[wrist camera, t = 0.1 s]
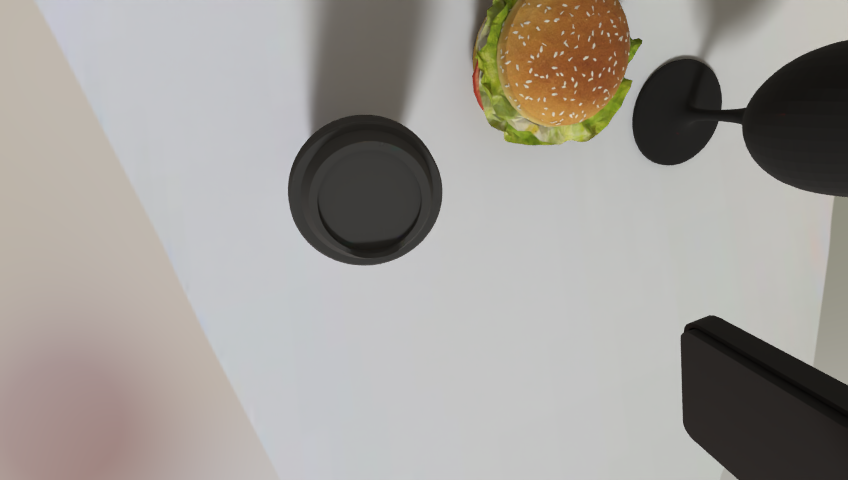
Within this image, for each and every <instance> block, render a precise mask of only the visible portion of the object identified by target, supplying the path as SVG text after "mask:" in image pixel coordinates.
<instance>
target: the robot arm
mask: <svg viewBox="0 0 848 480" xmlns="http://www.w3.org/2000/svg"><path fill="white" fill-rule="evenodd" d="M681 367H682V403H683V424H684V427H685V429H686V431H687V433H688V434H689V435H690V437H691V438H692V439H693V440H694V441H695V442H696V443H698V444H699V445H700V446H701V447H702V448H703V449H704V450H706V451H707V452H708V453H709V454H710V455H711V456H712V457H713V458H715V459H716V460H717V461H718V462H719V463H720V464H721V465H722V466H724V467H725V468H726V469H727V470H728V471H729V472H730V473H732V474H733V475H734V476H735V477H736V478H737V479H739V480H848V385H846V384H844V383H842V382H840V381H838V380H837V379H834V378H833V377H831V376H829V375H827V374H825V373H823V372H821V371H819V370H817V369H816V368H814V367H812V366H810V365H808V364H806V363H804V362H802V361H801V360H799V359H797V358H795V357H793V356H791V355H789V354H787V353H785V352H784V351H782V350H780V349H778V348H776V347H774V346H772V345H770V344H768V343H766V342H765V341H763V340H761V339H759V338H757V337H755V336H753V335H751V334H749V333H748V332H746V331H744V330H742V329H740V328H738V327H736V326H734V325H732V324H730V323H729V322H727V321H725V320H723V319H721V318H719V317H716V316H711V315H709V316H707V317H704V318H702V319H699V320H697V321H694V322H691V323H689V324H687V325H686V326H685V328H684V333H683V334H682V335H681Z"/></svg>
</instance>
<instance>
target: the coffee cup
mask: <svg viewBox="0 0 848 480" xmlns="http://www.w3.org/2000/svg"><path fill="white" fill-rule="evenodd" d="M288 197H289V204H290V210H291V214H292V217H293V219H294V222H295V224H296V226H297V228H298V230H299V231H300V233H301V234H302V236H303V237H304V238H305V239H306V240H307V241H308V243H309V244H311V245H312V246H313V247H314V248H315V249H316V250H318V251H319V252H321V253H322V254H324V255H326V256H327V257H329V258H332V259H334V260H337V261H339V262H343V263H347V264H352V265H376V264H381V263H385V262H389V261H392V260H394V259H397V258H399V257H401V256H403V255H405V254H407V253H408V252H410V251H411V250H412V249H414V248H415V247H416V246H417V245H419V244H420V243H421V242H422V241H423V240H424V238H425V237H426V236H427V235H428V233H429V232H430V231H431V229H432V227H433V226H434V224H435V222H436V220H437V217H438V214H439V211H440V207H441V202H442V182H441V177H440V173H439V170H438V167H437V165H436V163H435V161H434V159H433V157H432V155H431V153H430V152H429V150H428V148H427V147H426V146H425V144H424V143H423V142H422V141H421V139H420V138H419V137H418V136H417V135H416V134H414V133H413V132H412V131H411V130H409V129H408V128H407V127H405V126H403V125H402V124H400V123H398V122H396V121H393V120H391V119H388V118H384V117H380V116H374V115H355V116H349V117H345V118H341V119H338V120H336V121H333V122H331V123H329V124H327V125H325V126H324V127H322V128H321V129H319V130H318V131H317V132H315V133H314V134H313V135H312V136H311V137H310V138H309V139H308V140H307V141H306V142H305V144H304V145H303V146H302V148H301V149H300V151H299V152H298V154H297V156H296V158H295V160H294V163H293V165H292V168H291V172H290V176H289V183H288Z"/></svg>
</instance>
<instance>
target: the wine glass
mask: <svg viewBox="0 0 848 480" xmlns="http://www.w3.org/2000/svg"><path fill="white" fill-rule="evenodd" d="M721 106H722V95H721V89H720V85H719V82H718V80H717V78H716V76H715V74H714V73H713V71H712V70H711V69H710V68H709V67H707V66H706V65H705V64H703V63H701V62H699V61H696V60H692V59H682V60H677V61H673V62H671V63H668V64H666V65H665V66H663V67H661V68H660V69H659V70H657V71H656V72H655V73H654V74H653V75H652V76H651V77H650V78H649V79H648V81H647V82H646V84H645V85H644V87H643V88H642V90H641V92H640V94H639V96H638V99H637V101H636V105H635V108H634V113H633V133H634V138H635V141H636V144H637V146H638V148H639V150H640V151H641V152H642V154H643V155H644V156H645V157H646V158H647V159H649V160H651V161H652V162H654V163H657V164H662V165H676V164H680V163H683V162H685V161H687V160H689V159H691V158H692V157H694V156H695V155H696V154H697V153H699V152H700V151H701V150H702V149H703V148H704V147H705V145H706V144H707V143H708V141H709V140H710V138H711V137H712V135H713V133H714V131H715V129H716V127H717V124H718V121H725V122H733V123H738V124H742V131H743V137H744V141H745V144H746V147H747V149H748V151H749V153H750V154H751V156H752V158H753V159H754V160H755V161H756V163H757V164H758V165H759V166H760V167H761V168H762V169H763V170H764V171H766V172H767V173H768V174H770V175H771V176H772V177H774V178H776V179H777V180H779V181H781V182H783V183H785V184H788V185H791V186H793V187H796V188H798V189H802V190H805V191H809V192H814V193H819V194H826V195H833V196H842V197H848V40H846V41H841V42H837V43H833V44H830V45H827V46H824V47H821V48H819V49H816V50H813V51H811V52H808V53H806V54H804V55H802V56H800V57H798V58H796V59H795V60H793V61H791V62H790V63H788V64H786V65H785V66H783V67H782V68H781V69H779V70H778V71H777V72H776V73H774V74H773V75H772V76H771V77H769V78H768V79H767V80H766V81H765V82H764V84H763V85H762V86H761V87H760V88H759V89H758V90H757V92H756V93H755V94H754V95H753V97H752V98H751V100H750V102H749V103H748V105H747V108H742V109H731V110H721Z"/></svg>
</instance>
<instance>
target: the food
mask: <svg viewBox="0 0 848 480" xmlns="http://www.w3.org/2000/svg"><path fill="white" fill-rule="evenodd" d="M641 44H642V40H641V39H639V38H638V39H634V40H632V39H631V38H630V34H629V28H628V24H627V19H626V16H625V13H624V11H623V9H622V7H621V5H620V3H619V1H618V0H493V5H492V6H491V7H490V8H489V9H488V10H487V16H486V17H485V19H484V21H483V23H482V25H481V28H480V30H479V32H478V35H477V39H476V43H475V47H474V52H473V69H474V73H473V76H472V77H473V88H474V93H475V96H476V98H477V101H478V103H479V105H480V107H481V108H482V110H483V111H484V113H485V115H486V118H487V120H488V123H489V124H490V125H491V126H492V127H494V128H496V129H498V130H501V131H503V132H504V139H505V141H508V142H512V143H519V144H525V145H554V144H562V143H563V142H565V141H567V140H574V141H579V142H585V141H588V140H590V139H592V138H593V137H594V136H595V135H597V134H598V133H600V132H601V131H602V130H603V129H604V128H605V127H606V126H607V125H608V124H609V122H610V120H611V119H612V117H613V116H614V114H615V113H616V112H617V111H618V109H619V108H620V107H621V105H622V103H623V100H624V98H625V96H626V94H627V93H628V91H629V89H630V87H631V83H632V80H628V79H625V78H624V75H625V71H626V68H627V65H628V63H629V62H630V61H631V60H632V58H633V56H634V55H635V53H636V51H637V49H638V47H639V46H640V45H641Z"/></svg>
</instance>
